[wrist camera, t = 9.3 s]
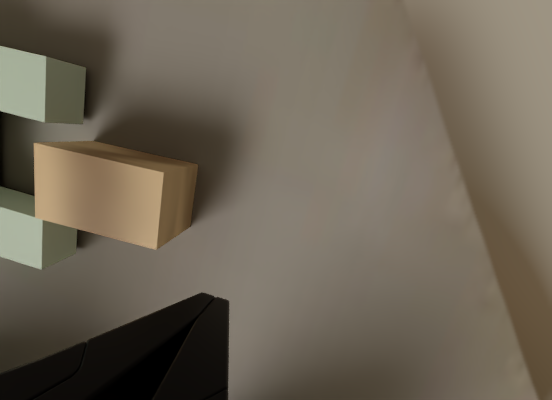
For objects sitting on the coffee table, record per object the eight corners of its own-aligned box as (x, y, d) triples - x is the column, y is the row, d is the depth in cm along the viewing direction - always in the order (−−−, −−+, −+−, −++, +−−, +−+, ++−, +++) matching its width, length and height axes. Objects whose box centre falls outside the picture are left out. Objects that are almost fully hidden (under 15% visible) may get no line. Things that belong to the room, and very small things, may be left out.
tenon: (199, 164, 17) (163, 172, 14) (191, 225, 18) (156, 249, 15) (95, 140, 18) (33, 142, 14) (93, 201, 19) (35, 217, 15)
